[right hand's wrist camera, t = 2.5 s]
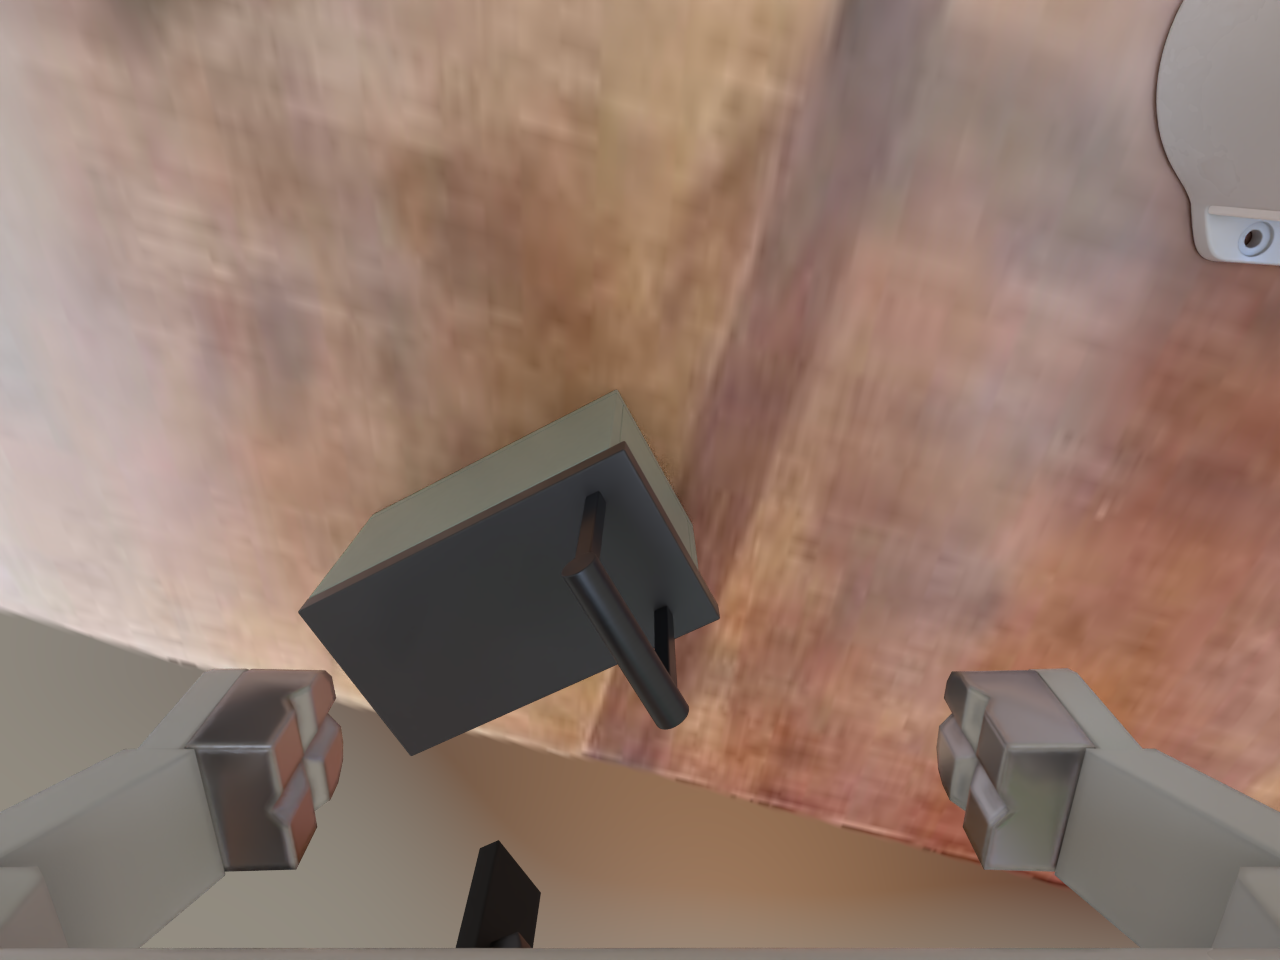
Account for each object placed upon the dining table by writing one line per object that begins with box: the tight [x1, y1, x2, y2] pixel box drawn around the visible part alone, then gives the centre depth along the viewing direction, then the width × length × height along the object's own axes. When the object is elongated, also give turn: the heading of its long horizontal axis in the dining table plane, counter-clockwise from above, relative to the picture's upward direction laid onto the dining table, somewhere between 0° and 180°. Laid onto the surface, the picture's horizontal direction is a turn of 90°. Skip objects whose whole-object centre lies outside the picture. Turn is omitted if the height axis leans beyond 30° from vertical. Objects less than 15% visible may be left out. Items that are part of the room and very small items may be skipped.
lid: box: [298, 441, 720, 756], centre depth 34 cm, size 17×9×9 cm, turn 118°
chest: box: [309, 390, 699, 598], centre depth 43 cm, size 16×9×10 cm, turn 118°
